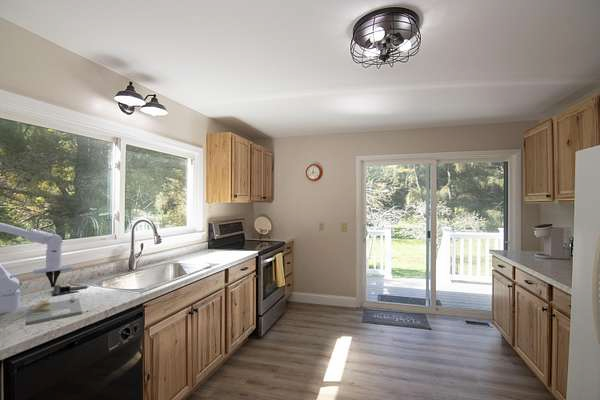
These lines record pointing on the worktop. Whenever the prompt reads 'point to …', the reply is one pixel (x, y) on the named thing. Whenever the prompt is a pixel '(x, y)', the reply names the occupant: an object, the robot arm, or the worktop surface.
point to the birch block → (43, 306)
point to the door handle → (66, 290)
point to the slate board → (46, 315)
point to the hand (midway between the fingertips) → (53, 286)
